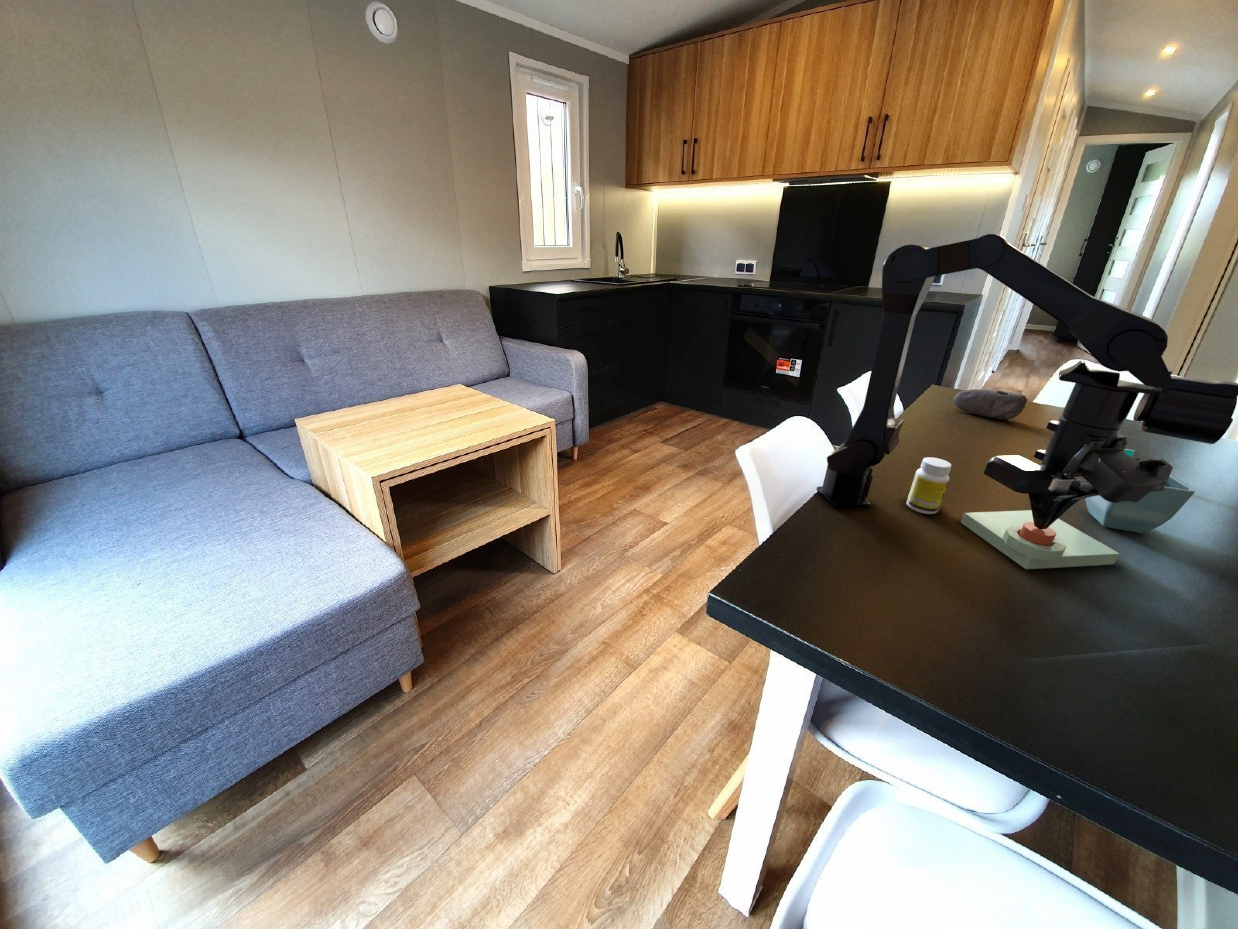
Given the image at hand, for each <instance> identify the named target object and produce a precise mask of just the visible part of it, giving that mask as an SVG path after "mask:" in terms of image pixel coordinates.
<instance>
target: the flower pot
mask: <svg viewBox="0 0 1238 929" xmlns="http://www.w3.org/2000/svg"><path fill="white" fill-rule="evenodd" d="M1164 487H1165V488H1164V490H1163V491H1153V492H1150V493H1148V494H1147V495H1146V496H1145V497H1143V498H1142V499H1141V500H1140V501H1138V502H1132V501H1124V502H1119V503H1112V502H1109V501H1106V500H1105V499H1103V498H1102V497H1101V496H1093V497H1088V498H1084V499H1085V504H1086V507H1087V508H1086V509H1087V511H1088V513H1089V514H1090V515H1091V516H1092V517H1093V518H1094V519H1095V520H1096V521H1097V522H1098V523H1099V524H1100V525H1101V526H1102V527H1104V528H1108V529H1115V530H1120V531H1126V532H1132V533H1137V534H1143V533H1146V532H1149V531H1152V530H1155V529H1156V528H1158V527H1159V528H1160V526H1161V527H1162V526H1163V525H1164V524H1166V523H1167V522H1168V521H1170V520H1171V519H1172V518H1173V517H1174V516H1176V514H1177V513H1178V512H1179V511H1180V510H1181V509H1182V508H1183V507H1184V505H1185V504H1186V503H1187V502H1188V501H1189V500H1190V498H1192V496H1193V495H1194V494H1195V493H1196V490H1194V489H1193V488H1191V487H1190V486H1188V485H1187V484H1185V483H1183V482H1182V481H1180V480H1178V479H1177V478H1175V477H1174V476H1172V475H1170V476H1169V478H1168V480H1167V482H1166V483H1165V484H1164Z"/></svg>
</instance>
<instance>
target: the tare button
mask: <svg viewBox="0 0 1238 929" xmlns="http://www.w3.org/2000/svg"><path fill="white" fill-rule="evenodd" d="M1019 536H1020V537H1022V538H1023V539H1025V540H1026V541H1029V542H1031V543H1034V544H1037V545H1042V546H1050V545H1051V544H1052V542H1053V540H1054V538H1055V536H1056V532H1055V531H1054V530H1052V529H1051V528H1049V527H1048V528H1047V529H1039V528H1037V527H1035V526H1034V523H1033V522H1026V523H1024V524H1023V526H1022V529H1021V531H1020V533H1019Z"/></svg>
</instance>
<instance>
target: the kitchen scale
mask: <svg viewBox="0 0 1238 929" xmlns="http://www.w3.org/2000/svg"><path fill="white" fill-rule="evenodd" d="M1026 522H1033V523H1034V521H1033V516H1032V510H1031V509H1030V510H1029V509H1027V510H1004V511H1003V510H1002V511H1001V510H1000V511H976V512H964V513H963V515H962V518H961V520H960V523H961V524H962V525H963V526H965V527H966V528H967V529H969V530H970V531H972V532H973V533H975V534H976V535H977V536H979V537H980V538H981V539H983V540H984V541H985V542H987V543H988V544H990V545H991V546H993V547H994V548H995V549H996V550H998V551H1000V552H1001V553H1002V554H1004V555H1005V556H1007V557H1008V558H1009V559H1011V560H1012V561H1014V562H1015V563H1016V564H1017V565H1019V566H1020V567H1022V568H1024V569H1025V570H1036V569H1039V570H1040V569H1053V568H1074V567H1091V566H1106V565H1108V566H1109V565H1111V566H1112V565H1115V564H1116V562H1117V560H1118V558H1119V556H1120V555H1121V554H1120V552H1118V551H1116V550H1114V549H1113V548H1111V547H1110V546H1107V545H1106V544H1104V543H1102V542H1100V541H1098V540H1097V539H1095V538H1093V537H1092V536H1090V535H1088V534H1086V533H1084V532H1083V531H1081V530H1079V529H1078V528H1075V527H1074V526H1072V525H1071V524H1068V523H1067V522H1065V521H1063V520H1062V519H1060V518H1058V519H1057V520H1056V521H1055V522H1054V523H1052V524H1051V525H1050V526H1049V528H1051V529H1052V530H1054V531H1055V532H1056V536H1055V538H1054V540H1053V542H1052V544H1051V545H1050V546H1042V545H1037V544H1034V543H1031V542H1029V541H1026V540H1025V539H1023V538H1022V537H1020V536H1019V533H1020V531H1021V529H1022V526H1023V524H1024V523H1026Z"/></svg>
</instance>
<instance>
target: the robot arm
mask: <svg viewBox="0 0 1238 929" xmlns="http://www.w3.org/2000/svg"><path fill="white" fill-rule="evenodd" d="M976 269H978V270H982V271H983V272H984V273H987V275H989V276H990V277H992V278H994V279H996V280H997V281H998V282H1000V283H1001V284H1003V285H1004V286H1005V287H1006V288H1008V289H1010V290H1011V291H1013V292H1014V293H1016V294H1018V295H1019V296H1020V297H1022V298H1023V299H1025V300H1026V301H1028V302H1029V303H1031V304H1033V305H1034V306H1035V307H1037V308H1038V309H1040V310H1041V311H1043V312H1045V313H1046V314H1048V315H1049V316H1051V317H1052V318H1053V319H1055V320H1056V321H1058V322H1059V323H1061V324H1062V325H1063V326H1064V327H1065V328H1066V329H1067V330H1068V331H1069V332H1070V333H1071V335H1072V336H1073V337H1074V338H1075V339H1076V340H1077V341H1078V342H1079V343H1080V345H1082V347H1083V348H1084V349H1086V351H1087V352H1088V353H1089V354H1090V355H1091V356H1092V357H1093V358H1094V359H1095V360H1096V361H1097V362H1098V363H1099V364H1100V365H1101V366H1103V367H1104V368H1106V369H1108V370H1103V369H1094V368H1089V367H1088V366H1087V364H1086V361H1084V360H1079V361H1077V363H1075V364H1074V365H1072V366H1069V367H1067V368H1064V369H1062V370H1059V372H1058V380H1059V381H1061V382H1067V383H1074V386H1073V388H1072V390H1071V392H1070V394H1069V396H1068V398H1067V402H1066V404H1065V405H1064V408H1063V410H1062V413H1061V415H1060V417H1059V420H1049V421H1048V423H1047V425H1046V428H1045V429H1046V430H1049V431H1051V432H1052V434H1051V437H1050V440H1049V442H1048V443H1047V446H1046V448H1045V449H1036V450H1035V453H1034V455H1033V458H1035V459H1037V460H1039V461H1041V464H1038V463H1035V462H1034V461H1032V460H1029V459H1027V458H1025V457H1023V456H1021V455H995V456H993V457H991V458H989V459H988V460H987V463H986V465H985V467H984V470H983V475H984V476H987V477H988V478H990V479H992V480H994V481H996V482H997V483H998V484H1001V485H1003V486H1005V487H1006V488H1008V489H1009V490H1011V491H1013V492H1015V493H1020V494H1022V495H1025V494H1026V495H1028V500H1029V504H1030V510H1032V516H1033V521H1034V526H1035V527H1037V528H1039V529H1047V528H1048V527H1049V526H1050V525H1051V524H1052V523H1054V522H1055V521H1056V520H1057V519H1060V517H1061V516H1062V515H1064V514H1065V513H1066V512H1067V511H1068V510H1069V509H1070V508H1072V506H1074V505H1075V504H1077V503H1078V502H1079V501H1081V500H1083V499H1085V498H1088V497H1093V496H1101V497H1102V498H1103V499H1105V500H1106V501H1109V502H1112V503H1119V502H1124V501H1132V502H1138V501H1140V500H1141V499H1142V498H1143V497H1145V496H1146V495H1147V494H1148V493H1150V492H1153V491H1163V490H1164V488H1165V487H1164V484H1165V483H1166V482H1167V480H1168V478H1169V476H1171V473H1172V471H1173V468H1174V467H1173V465H1171V464H1170V463H1169V462H1167V461H1166V460H1165V459H1163V458H1149V459H1145V460H1142V461H1141V458H1140V457H1138V456H1132V457H1130V456H1129V455H1127V454H1126V453H1125V452H1124V449H1126V446H1127V445H1128V440H1127V439H1128V437H1127V436H1125V435H1123V434H1120V432H1121V430H1122V427H1123V425H1124V424H1125V421H1126V420H1127V418H1128V416H1129V415H1130V413H1131V410H1132V408H1133V406H1134V404H1135V402H1136V400H1137V398H1138V396H1139V394H1143V395H1142V397H1141V398H1140V400H1139V401H1138V404H1137V406H1136V408H1135V411H1134V414H1133V418H1132V420H1133V421H1134V422H1137V423H1141V422H1142V423H1141V432H1144V433H1150V434H1155V435H1160V436H1166V437H1171V438H1177V439H1182V440H1188V441H1191V442H1198V443H1203V444H1208V445H1214V444H1217V442H1219V441H1220V440H1221V439H1222V438H1223V437H1224V435H1225V434H1226V433H1227V432H1228V431H1229V428H1230V427H1231V425H1232V423H1233V422H1234V419H1233V415H1234V413H1235V410H1236V407H1237V404H1238V383H1237V382H1236V381H1235V382H1234V381H1227V380H1206V379H1199V378H1191V377H1184V376H1177V375H1172V374H1173V373H1174V372H1173V370H1172V369H1171V368H1170V367H1169V366H1168V365H1167V364H1166V363H1165V360H1164V358H1163V357H1162V356H1163V355H1164V353H1165V351H1166V349H1167V347H1168V340H1169V335H1168V334H1167V332H1166V330H1165V329H1164V328H1163V327H1161V325H1159V323H1157V322H1156V321H1154V320H1153V319H1151V318H1150V317H1147V316H1145V315H1143V314H1140V313H1137V312H1135V311H1133V310H1130V309H1127V308H1125V307H1122V306H1120V305H1117V304H1114V303H1111V302H1109V301H1106V300H1103V299H1101V298H1098V297H1096V296H1093V295H1091V294H1089V293H1088V292H1086V291H1084V290H1083V289H1082V288H1079V287H1078V286H1077V285H1076V284H1074V283H1072V282H1070V281H1069V280H1067V279H1066V278H1064V277H1062V276H1061V275H1060V274H1058V273H1056V272H1054V271H1053V270H1052V269H1050V268H1048V267H1047V266H1045V265H1043V263H1041V262H1039V261H1037V260H1036V259H1034V258H1032V257H1031V256H1030V255H1028V254H1026V253H1025V252H1023V251H1022V250H1020V249H1018V248H1017V247H1015V246H1014V245H1012V244H1011V243H1010V242H1009V241H1008V239H1006V237H1004V236H1002V235H999V234H997V233H987V234H984V235H981V236H979V237H977V238H973V239H967V240H963V241H957V242H954V243H948V244H942V245H937V246H934V247H931V246H929V245H925V244H915V243H913V244H911V243H910V244H904V245H903V246H900V247H898V248H896V249H894V250H893V251H892V252H891V253H889V254H888V256H887V257H886V258H885V260H884V262H883V265H882V271H881V272H882V273H881V300H882V310H883V315H882V321H881V324H880V325H881V326H880V329H879V333H878V334H879V335H878V339H877V343H876V348H875V353H874V358H873V361H872V362H873V363H872V366H871V371H870V376H869V380H868V385H867V389H866V392H865V393H866V394H865V399H864V402H863V407H862V409H861V411H860V412H859V415H858V417H857V419H856V421H855V422H854V424H853V426H852V428H851V430H850V433H849V435H848V437H847V440H846V441H844V442H842V443H841V444H840V445H839V446H838V447H837V448H835V449H834V450H833V451H832V452H831V453H830V454H829V455H828V456H827V457H826V463H827V466H826V471H825V474H824V478H823V482H822V486H816V488H815V489H816V491H817V492H818V493H819V494H820V495H821V496H822V497H823V498H824V499H825V500H826V501H827V502H828V503H829V504H830V505H831V506H832V507H834V508H854V507H870V505H871V502H870V501H869V500H868V499H867V498H868V496H869V492H870V488H871V485H872V483H873V482H872V481H873V479H874V477H873V471H874V468H873V467H875V466H876V465H879V464H880V463H881V462H882V461H883V459H884V458H885V457H886V456H887V455H890V454H891V453H892V452H893V451H894V449H895V448H896V447H897V446H898V445H899V443H900V437H899V436H900V431H901V429H902V427H903V425H904V422H905V419H904V418H896V416H895V403H896V399H897V395H898V390H899V386H900V382H901V378H902V375H903V371H904V367H905V362H906V358H907V354H908V350H909V346H910V342H911V337H912V334H913V330H914V327H915V321H916V318H917V315H918V312H919V311H920V309H921V307H922V304H923V303H924V301H925V299H926V298H927V295H928V293H929V292H930V289H931V287H932V286H933V285H932V284H933V283H934V281H935V278H936V277H938V276H943V275H948V274H954V273H959V272H965V271H970V270H976ZM1109 370H1110V371H1109ZM1120 372H1128V373H1129V374H1131V376H1133V377H1134V378H1136V379H1137V380H1138V381H1139V383H1138V382H1133V381H1126V380H1122V379H1120V377H1121V373H1120Z"/></svg>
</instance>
